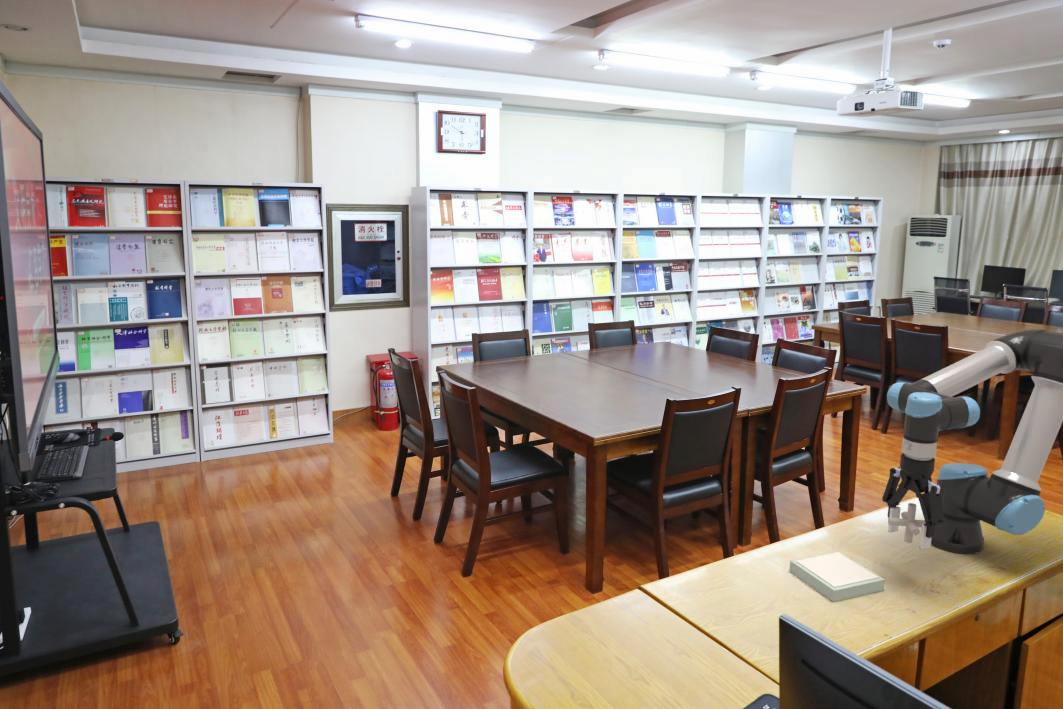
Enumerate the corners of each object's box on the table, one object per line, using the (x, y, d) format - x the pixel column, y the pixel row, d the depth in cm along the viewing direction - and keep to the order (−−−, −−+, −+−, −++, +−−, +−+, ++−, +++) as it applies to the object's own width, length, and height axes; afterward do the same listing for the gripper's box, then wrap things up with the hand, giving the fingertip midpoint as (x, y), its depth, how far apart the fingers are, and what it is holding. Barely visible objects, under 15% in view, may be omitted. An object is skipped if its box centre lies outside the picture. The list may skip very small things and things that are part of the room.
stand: (837, 561, 202) (838, 550, 201) (883, 590, 187) (885, 578, 187) (789, 571, 196) (790, 559, 196) (833, 601, 182) (834, 589, 181)
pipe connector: (936, 552, 182) (940, 514, 180) (892, 548, 184) (896, 511, 182) (923, 534, 192) (927, 498, 190) (882, 531, 194) (885, 495, 192)
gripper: (871, 443, 192) (863, 523, 197) (945, 473, 172) (934, 561, 177) (894, 439, 194) (885, 519, 199) (968, 468, 174) (957, 556, 179)
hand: (908, 539), depth 188 cm, fingers closed on pipe connector, 9 cm apart
